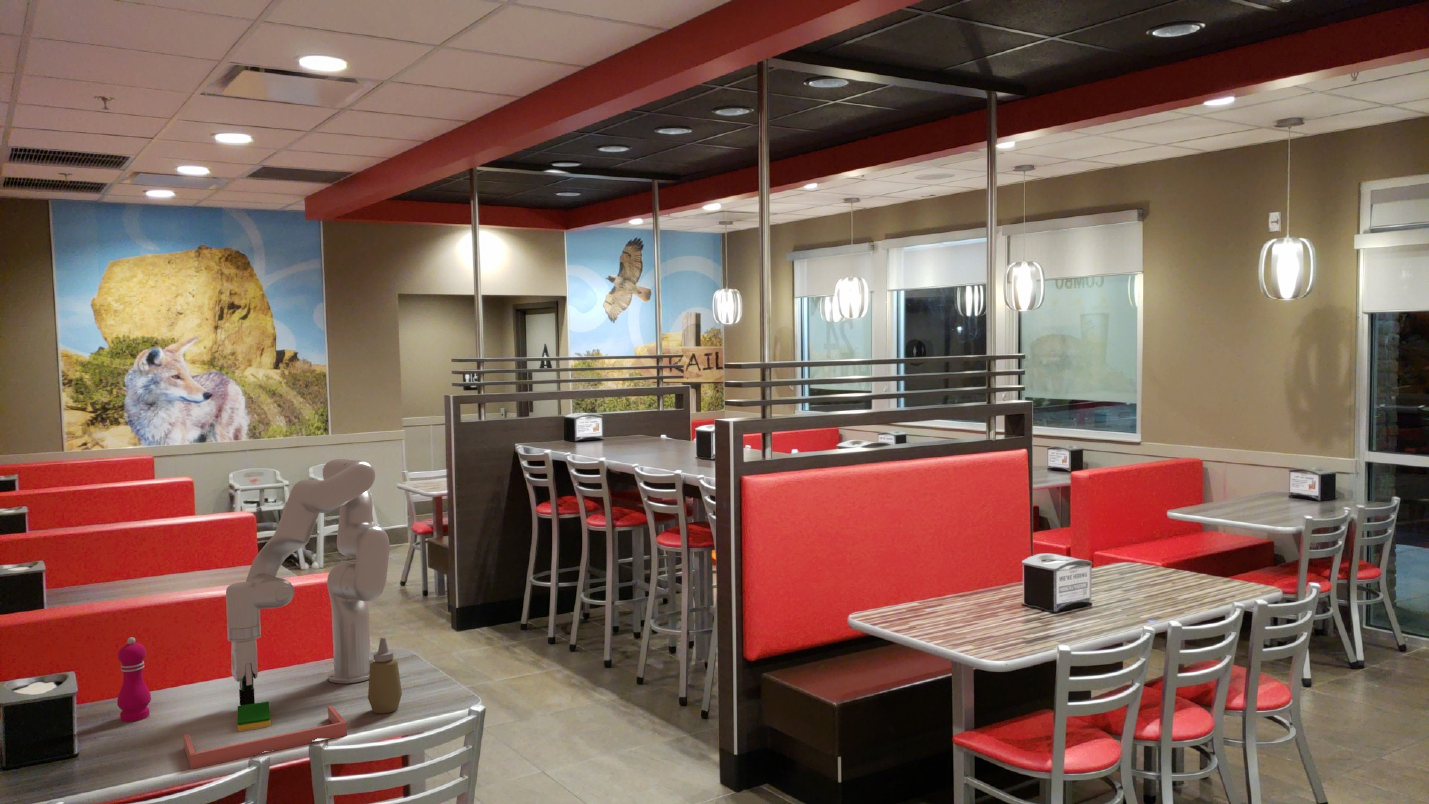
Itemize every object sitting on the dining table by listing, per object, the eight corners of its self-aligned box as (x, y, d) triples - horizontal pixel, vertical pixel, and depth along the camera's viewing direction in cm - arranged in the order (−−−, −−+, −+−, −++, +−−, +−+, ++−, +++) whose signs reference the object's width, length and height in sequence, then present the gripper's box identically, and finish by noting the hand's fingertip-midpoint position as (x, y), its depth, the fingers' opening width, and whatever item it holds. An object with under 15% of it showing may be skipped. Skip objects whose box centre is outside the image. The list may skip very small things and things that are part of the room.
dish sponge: (237, 733, 235) (237, 723, 235) (237, 715, 248) (237, 705, 248) (270, 727, 238) (270, 717, 238) (269, 710, 251) (268, 700, 251)
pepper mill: (141, 710, 252) (137, 632, 251) (157, 715, 248) (154, 635, 247) (111, 719, 246) (107, 639, 245) (128, 724, 242) (124, 642, 241)
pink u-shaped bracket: (332, 717, 243) (332, 705, 243) (346, 735, 231) (346, 722, 231) (184, 748, 226) (183, 735, 226) (191, 769, 213) (190, 755, 213)
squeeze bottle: (389, 717, 242) (386, 643, 242) (361, 714, 245) (358, 641, 244) (409, 706, 250) (406, 634, 249) (382, 703, 253) (379, 632, 252)
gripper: (223, 628, 255) (226, 699, 256) (232, 641, 242) (235, 716, 243) (255, 623, 259) (258, 694, 260) (265, 636, 247) (268, 709, 247)
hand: (247, 704), depth 251 cm, fingers closed
